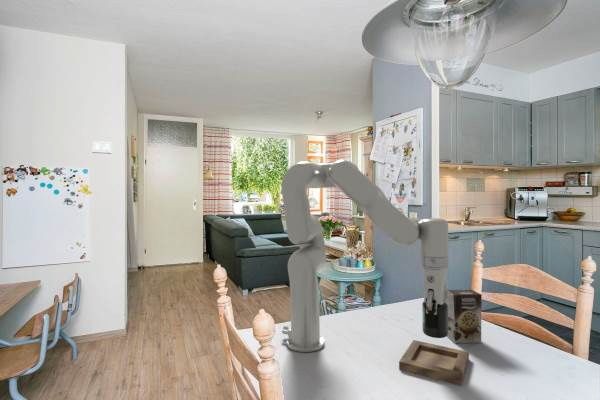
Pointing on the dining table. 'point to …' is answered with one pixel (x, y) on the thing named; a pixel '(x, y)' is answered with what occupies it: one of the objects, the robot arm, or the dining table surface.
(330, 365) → the dining table surface
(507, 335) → the dining table surface
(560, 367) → the dining table surface
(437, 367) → the wooden tray
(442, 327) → the supplement bottle
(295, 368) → the dining table surface
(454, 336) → the coffee box
